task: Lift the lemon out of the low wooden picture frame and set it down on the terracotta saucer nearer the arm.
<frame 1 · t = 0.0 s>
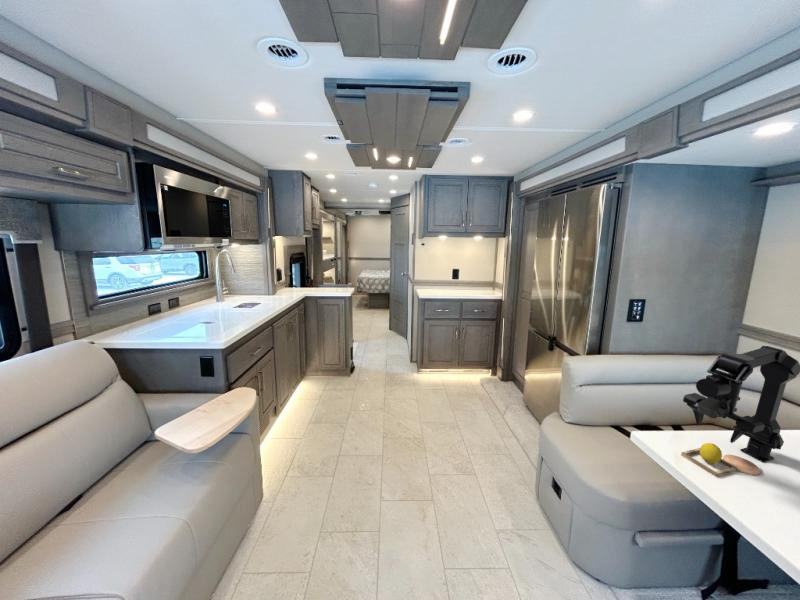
hand: (714, 433, 104), 15 cm above the table, fingers open, 9 cm apart
lemon: (707, 463, 110), resting in wooden picture frame
wooden picture frame: (707, 462, 110), on the table
saucer: (740, 465, 109), on the table
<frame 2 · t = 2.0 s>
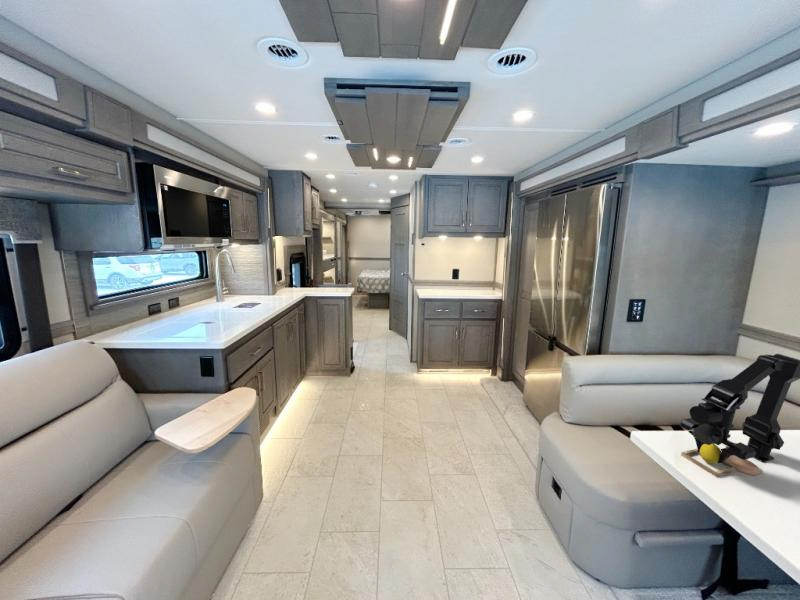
hand: (709, 457, 110), 2 cm above the table, fingers closed on lemon, 5 cm apart
lemon: (707, 463, 110), resting in wooden picture frame, touching gripper
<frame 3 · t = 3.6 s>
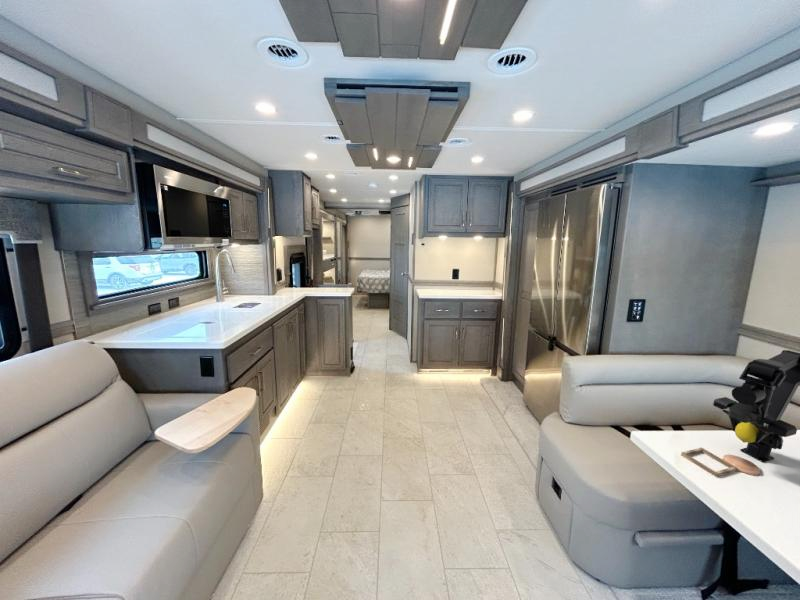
hand: (745, 436, 107), 12 cm above the table, fingers closed on lemon, 5 cm apart
lemon: (743, 442, 107), point 9 cm above the table, touching gripper
when the fingers open (4 cm above the table, at t = 5.3 s): lemon drops 1 cm, resting on saucer.
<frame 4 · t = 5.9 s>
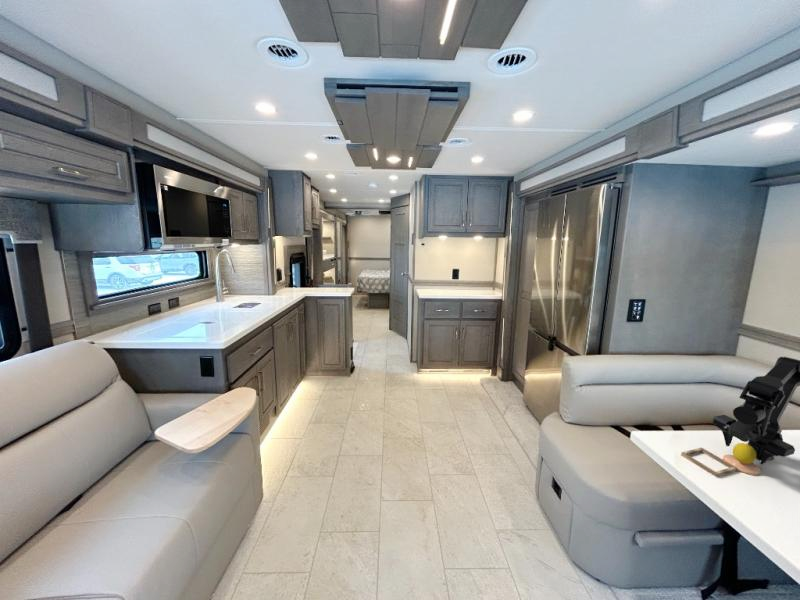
hand: (744, 454, 108), 4 cm above the table, fingers open, 9 cm apart
lemon: (741, 463, 109), point 1 cm above the table, touching saucer
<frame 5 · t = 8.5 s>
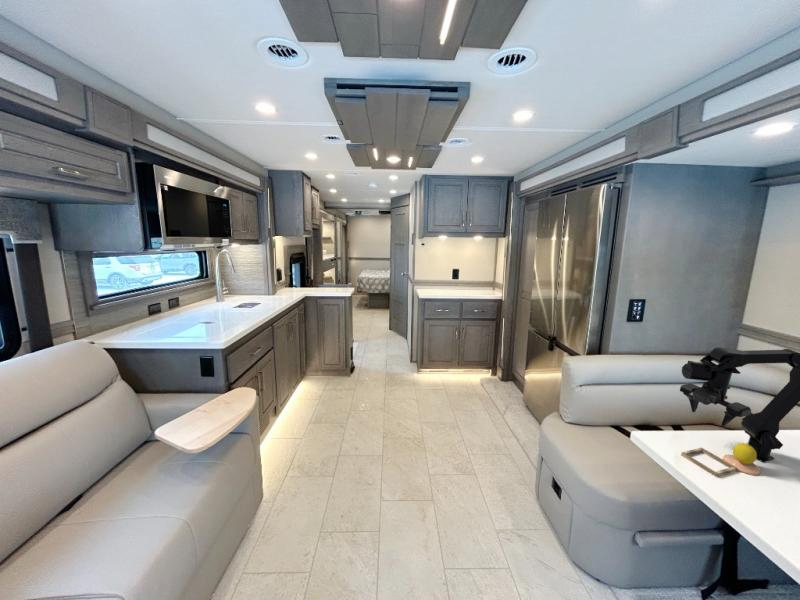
hand: (707, 418, 116), 12 cm above the table, fingers open, 9 cm apart
nothing on the table moved.
at the end: lemon inside the target area on the saucer (0.0 cm from its centre), point 0.7 cm above the saucer's base; the gripper is holding nothing; lemon inside the target area (4.7 cm from its centre), point 0.7 cm above the table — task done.
